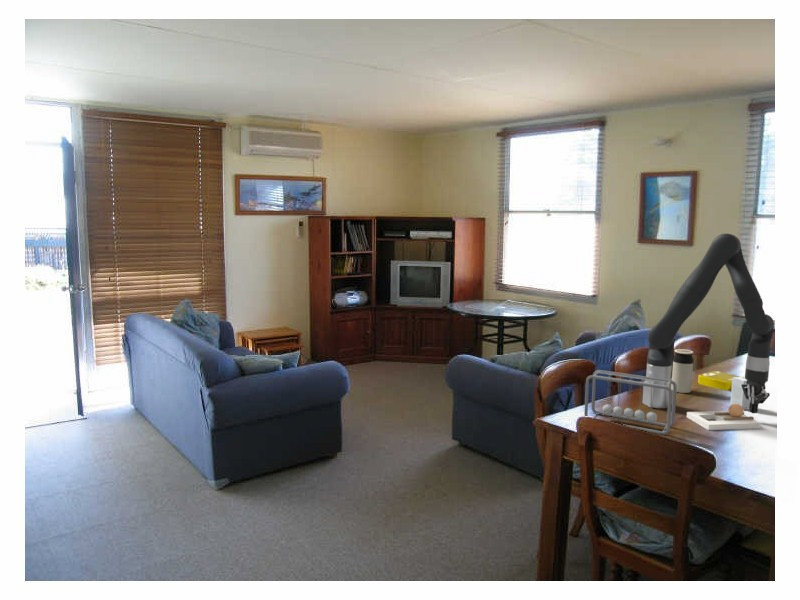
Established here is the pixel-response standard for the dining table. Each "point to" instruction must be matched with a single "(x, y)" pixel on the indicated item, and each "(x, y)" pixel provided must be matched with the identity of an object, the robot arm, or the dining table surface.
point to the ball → (735, 410)
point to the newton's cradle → (628, 411)
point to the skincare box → (739, 393)
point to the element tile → (717, 380)
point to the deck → (722, 420)
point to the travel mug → (682, 370)
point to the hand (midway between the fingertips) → (753, 412)
